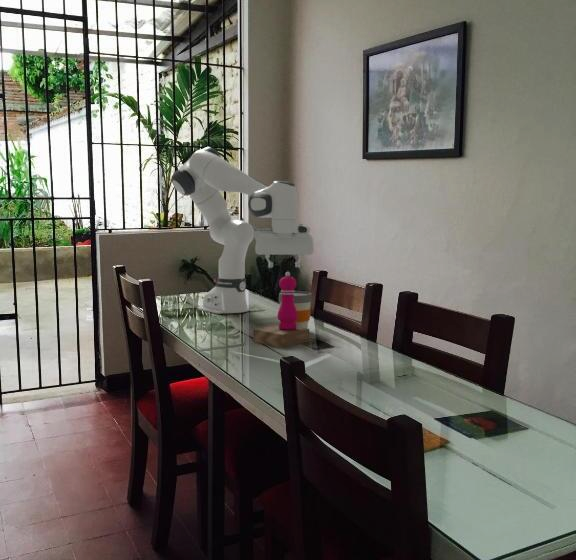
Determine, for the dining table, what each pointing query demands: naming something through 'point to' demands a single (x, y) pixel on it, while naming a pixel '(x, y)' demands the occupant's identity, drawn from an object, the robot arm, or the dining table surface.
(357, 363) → the dining table surface
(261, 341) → the walnut block
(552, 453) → the dining table surface
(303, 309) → the reusable coffee cup
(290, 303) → the pepper mill
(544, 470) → the dining table surface
